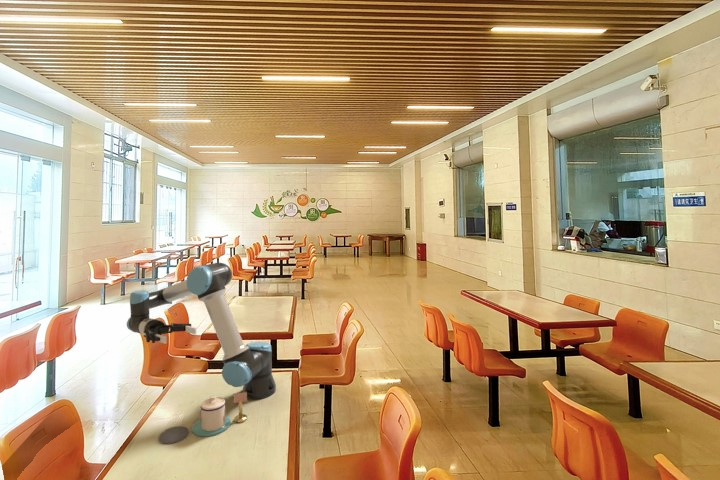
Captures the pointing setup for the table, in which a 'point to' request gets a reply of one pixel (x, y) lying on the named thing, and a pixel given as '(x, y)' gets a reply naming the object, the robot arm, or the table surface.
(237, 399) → the brass tag sign
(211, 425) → the teacup with lid
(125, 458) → the table surface
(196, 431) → the teal coaster
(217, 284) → the robot arm
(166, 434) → the charcoal coaster
